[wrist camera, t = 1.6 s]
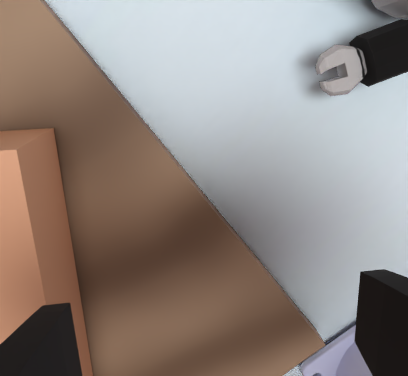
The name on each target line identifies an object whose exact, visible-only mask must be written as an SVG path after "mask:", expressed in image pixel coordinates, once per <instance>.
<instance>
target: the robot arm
mask: <svg viewBox="0 0 408 376" xmlns="http://www.w3.org/2000/svg"><path fill="white" fill-rule="evenodd" d="M300 369H301V371H302V374H303V375H304V376H408V278H407V277H404V276H402V275H399V274H396V273H393V272H390V271H387V270H384V269H383V270H373V271H364V272H360V283H359V295H358V306H357V317H356V325H355V326H353V327H352V328H350V329H349V330H347V331H346V332H345V333H343V334H342V335H340V336H339V337H338V338H336V339H335V340H333V341H332V342H330V343H329V344H328V345H326V346H325V347H323V348H322V349H321V350H319V351H318V352H316V353H315V354H313V355H312V356H311V357H309V358H308V359H306V360H305V361H304V362H303V363H302V364H301V366H300ZM315 373H317V374H316V375H314V374H315ZM0 376H82V369H81V364H80V358H79V352H78V346H77V340H76V334H75V328H74V322H73V316H72V311H71V305H70V303H61V304H51V305H43V306H41V307H40V308H39V309H38V310H37V311H36V312H34V313H33V314H32V315H31V316H30V317H29V318H28V319H27V320H26V321H25V322H24V323H23V324H21V325H20V326H19V327H18V328H17V329H16V330H15V331H14V332H13V333H12V334H11V335H10V336H9V337H8V338H7V339H6V340H4V341H3V342H2V343H1V344H0Z"/></svg>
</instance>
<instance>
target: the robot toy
mask: <svg viewBox="0 0 408 376" xmlns="http://www.w3.org/2000/svg"><path fill="white" fill-rule="evenodd" d="M371 1H372V3H373V4H374V6H375V7H376V8H377V9H379V10H381V11H383V12H384V13H386V14H388V15H390V16H392V17H394V18H408V0H371ZM349 45H350V46H343V45H334V46H333V47H331V48H330V49H328V50H327V51H325V52H324V53H322V54H320V56H319V58H318V61H317V64H316V67H315V68H316V72H317V74H322V73H324V72H325V71H327V70H329V69H331V68H333V67H336V68H337V72H338V77H335V78H332V79H329V80H326V81H319V83H320V87H321V89H322V90H323V91H324V92H326V93H327V94H328V95H330V96H336V95H343V94H348V93H349V92H350V91H351V90H352V89H353V88H354V87H355V86H356V85H357V84H358V83H359V82H361V83H363V84H364V85H366V86H371V85H373V84H376V83H379V82H382V81H384V80H387V79H390V78H392V77H395V76H398V75H400V74H403V73H406V72H408V20H403V19H401V20H398V21H395V22H393V23H390V24H387V25H385V26H382V27H380V28H377V29H374V30H372V31H369V32H367V33H364V34H361V35H359V36H356V37H355V38H354V39H353V40H352V41H351V42H350V43H349Z"/></svg>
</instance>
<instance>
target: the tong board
mask: <svg viewBox="0 0 408 376" xmlns="http://www.w3.org/2000/svg"><path fill="white" fill-rule="evenodd" d="M45 128H54V134H55V140H56V147H57V153H58V159H59V166H60V172H61V178H62V184H63V191H64V197H65V203H66V209H67V216H68V222H69V228H70V234H71V241H72V247H73V253H74V259H75V266H76V272H77V278H78V284H79V291H80V297H81V303H82V309H83V316H84V322H85V328H86V335H87V341H88V347H89V353H90V360H91V366H92V372H93V376H283V375H284V374H285V373H287V372H288V371H290V370H291V369H292V368H294V367H295V366H297V365H298V364H300V363H301V362H302V361H304V360H305V359H307V358H308V357H309V356H311V355H312V354H314V353H315V352H317V351H318V350H319V349H321V348H322V347H324V346H325V343H324V342H323V340H322V338H321V337H320V335H319V334H318V332H317V330H316V329H315V328H314V326H313V325H312V324H311V323H310V322H309V320H308V319H307V318H306V317H305V316H304V314H303V313H302V312H301V311H300V310H299V308H298V307H297V306H296V305H295V303H294V302H293V301H292V300H291V299H290V297H289V296H288V295H287V294H286V293H285V291H284V290H283V289H282V288H281V286H280V285H279V284H278V283H277V282H276V280H275V279H274V278H273V277H272V276H271V274H270V273H269V272H268V271H267V270H266V268H265V267H264V266H263V265H262V263H261V262H260V261H259V260H258V259H257V257H256V256H255V255H254V254H253V253H252V251H251V250H250V249H249V248H248V246H247V245H246V244H245V243H244V242H243V240H242V239H241V238H240V237H239V236H238V234H237V233H236V232H235V231H234V230H233V228H232V227H231V226H230V225H229V223H228V222H227V221H226V220H225V219H224V217H223V216H222V215H221V214H220V213H219V211H218V210H217V209H216V208H215V207H214V205H213V204H212V203H211V202H210V200H209V199H208V198H207V197H206V196H205V194H204V193H203V192H202V191H201V190H200V188H199V187H198V186H197V185H196V183H195V182H194V181H193V180H192V179H191V177H190V176H189V175H188V174H187V173H186V171H185V170H184V169H183V168H182V167H181V165H180V164H179V163H178V162H177V160H176V159H175V158H174V157H173V156H172V154H171V153H170V152H169V151H168V150H167V148H166V147H165V146H164V145H163V143H162V142H161V141H160V140H159V139H158V137H157V136H156V135H155V134H154V133H153V131H152V130H151V129H150V128H149V127H148V125H147V124H146V123H145V122H144V120H143V119H142V118H141V117H140V116H139V114H138V113H137V112H136V111H135V110H134V108H133V107H132V106H131V105H130V103H129V102H128V101H127V100H126V99H125V97H124V96H123V95H122V94H121V93H120V91H119V90H118V89H117V88H116V87H115V85H114V84H113V83H112V82H111V80H110V79H109V78H108V77H107V76H106V74H105V73H104V72H103V71H102V70H101V68H100V67H99V66H98V65H97V64H96V62H95V61H94V60H93V59H92V57H91V56H90V55H89V54H88V53H87V51H86V50H85V49H84V48H83V47H82V45H81V44H80V43H79V42H78V40H77V39H76V38H75V37H74V36H73V34H72V33H71V32H70V31H69V30H68V28H67V27H66V26H65V25H64V24H63V22H62V21H61V20H60V19H59V17H58V16H57V15H56V14H55V13H54V11H53V10H52V9H51V8H50V7H49V5H48V4H47V3H46V2H45V0H0V131H12V130H28V129H45Z"/></svg>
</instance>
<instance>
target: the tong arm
mask: <svg viewBox="0 0 408 376" xmlns="http://www.w3.org/2000/svg"><path fill="white" fill-rule="evenodd" d="M61 303H70V305H71V311H72V316H73V322H74V328H75V334H76V340H77V346H78V352H79V358H80V364H81V369H82V376H93V372H92V366H91V360H90V353H89V347H88V341H87V335H86V328H85V322H84V316H83V309H82V303H81V297H80V291H79V284H78V278H77V272H76V266H75V259H74V253H73V247H72V241H71V234H70V228H69V222H68V216H67V209H66V203H65V197H64V191H63V184H62V178H61V172H60V166H59V159H58V153H57V147H56V140H55V134H54V128H45V129H28V130H12V131H0V344H1V343H2V342H3V341H4V340H6V339H7V338H8V337H9V336H10V335H11V334H12V333H13V332H14V331H15V330H16V329H17V328H18V327H19V326H20V325H21V324H23V323H24V322H25V321H26V320H27V319H28V318H29V317H30V316H31V315H32V314H33V313H34V312H36V311H37V310H38V309H39V308H40V307H41V306H43V305H51V304H61Z"/></svg>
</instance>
